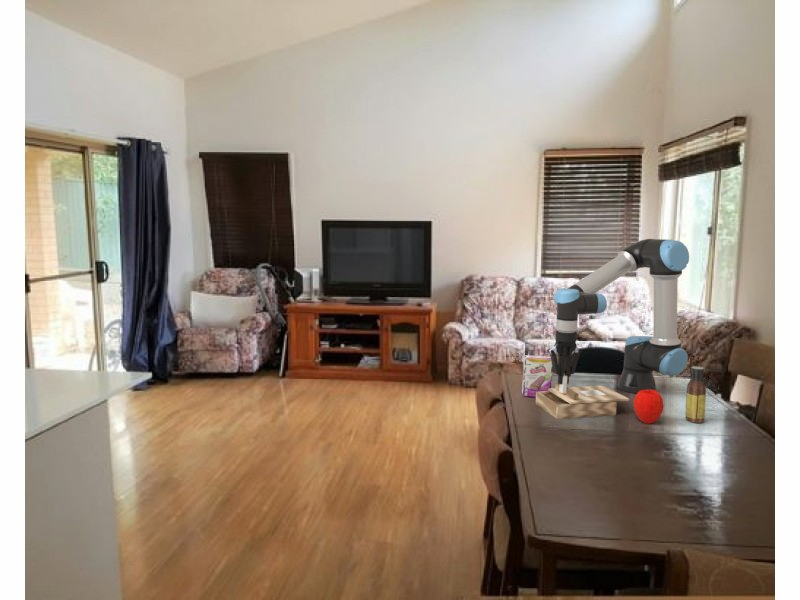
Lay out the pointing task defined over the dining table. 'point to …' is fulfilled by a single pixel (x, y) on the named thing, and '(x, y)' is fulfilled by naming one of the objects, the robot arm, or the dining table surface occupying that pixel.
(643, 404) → the apple
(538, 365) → the candy bar box
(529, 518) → the dining table surface
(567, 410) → the wooden box
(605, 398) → the lid
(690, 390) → the sauce bottle
